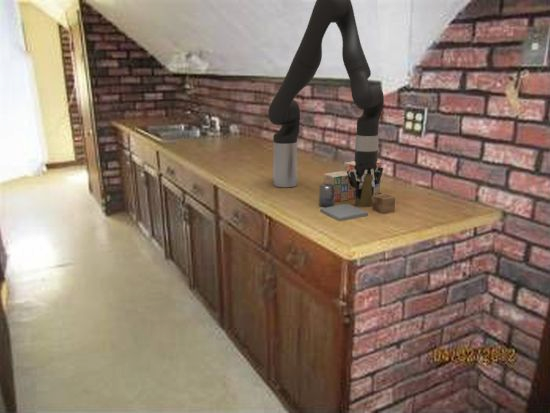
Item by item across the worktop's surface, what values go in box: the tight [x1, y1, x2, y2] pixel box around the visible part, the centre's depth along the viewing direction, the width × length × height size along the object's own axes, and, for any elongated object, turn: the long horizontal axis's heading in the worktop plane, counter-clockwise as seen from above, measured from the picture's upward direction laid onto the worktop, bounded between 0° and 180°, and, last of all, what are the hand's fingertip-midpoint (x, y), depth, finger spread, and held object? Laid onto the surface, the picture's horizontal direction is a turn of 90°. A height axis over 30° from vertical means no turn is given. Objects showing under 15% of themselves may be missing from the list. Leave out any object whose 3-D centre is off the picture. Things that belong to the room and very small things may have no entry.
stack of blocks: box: [323, 160, 382, 203], centre depth 170 cm, size 21×6×12 cm, turn 120°
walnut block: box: [372, 193, 396, 215], centre depth 155 cm, size 5×5×5 cm
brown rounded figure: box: [354, 174, 373, 208], centre depth 161 cm, size 6×6×11 cm
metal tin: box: [318, 183, 335, 208], centre depth 161 cm, size 5×5×7 cm
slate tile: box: [319, 203, 369, 222], centre depth 153 cm, size 11×11×1 cm
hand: (364, 197), depth 162 cm, fingers closed on brown rounded figure, 4 cm apart
